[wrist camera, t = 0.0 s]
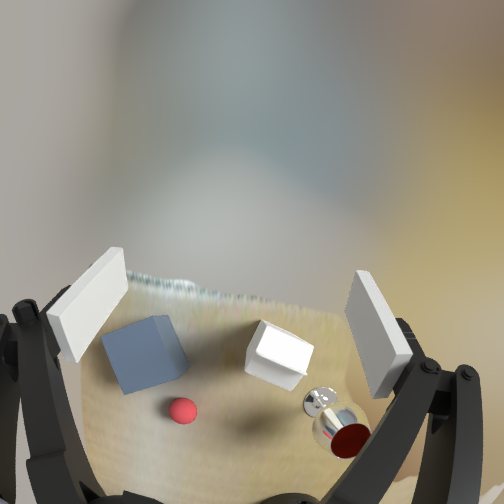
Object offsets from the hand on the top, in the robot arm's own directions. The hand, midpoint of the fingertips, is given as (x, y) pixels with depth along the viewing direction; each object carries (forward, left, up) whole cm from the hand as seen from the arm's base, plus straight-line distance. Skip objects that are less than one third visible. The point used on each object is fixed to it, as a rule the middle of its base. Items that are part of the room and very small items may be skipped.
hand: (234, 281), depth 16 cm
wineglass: (-23, -5, -36) cm, 43 cm away
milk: (-8, -1, -36) cm, 37 cm away
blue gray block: (-2, +19, -36) cm, 41 cm away
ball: (-14, +18, -33) cm, 41 cm away
